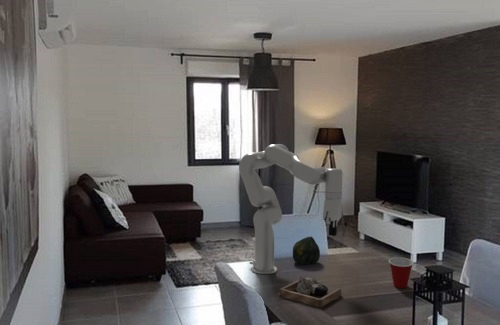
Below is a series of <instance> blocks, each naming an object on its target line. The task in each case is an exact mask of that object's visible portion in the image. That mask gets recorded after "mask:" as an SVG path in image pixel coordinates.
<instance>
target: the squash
mask: <svg viewBox="0 0 500 325" xmlns="http://www.w3.org/2000/svg"><path fill="white" fill-rule="evenodd" d="M320 251H321V250H320V247H319V245H318V244H317V242H316V240H315V239H314V237H313V236H307V237H304V238H302V239H300V240H298V241H297V242H295V243H294V245H293V247H292V259H293V261H294V262H295V264H300V265H305V264H315V263H316V264H317V263H318V262H319V260H320V257H321V252H320Z"/></svg>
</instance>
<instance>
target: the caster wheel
mask: <svg viewBox="0 0 500 325" xmlns="http://www.w3.org/2000/svg"><path fill="white" fill-rule="evenodd" d="M298 280H299V283H298V286H297V289H296V291H297V293H300V294H304V295H308V296H311V295H310V294H311V293H312V294H313V295H314V294H316V295H319V296H326V295H327V294H328V290H329V289H328V287H327V286H326V285H324V284H322V283H320V282H318V280H317V279H315V278H314V277H303V276H300V277H299V279H298Z"/></svg>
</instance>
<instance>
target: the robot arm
mask: <svg viewBox="0 0 500 325" xmlns="http://www.w3.org/2000/svg"><path fill="white" fill-rule="evenodd" d="M273 165H276V166H279V167H280V168H283V169H284V170H287V171H289V173H290V174H291V175H292V176H294V177H295V178H296V179H298V180H300V181H302V182H304V183H306V184H309V185H311V186H313V185H314V186H315V185H318V184H324V183H325V187H324V188H325V192H324V195H325V196H324V204H323V210H322V220H323V221H326V222H325V223H326V225H327V226H328V236H332V237H335V236H337V232H338V231H337V230H338V229H337V228H338V223H339V222H340V220H341V219H342V217H343V203H342V202H343V201H342V199H343V170H342V169H341V168H336V167H335V168H329V167H325V166H318V167H317V166H316V167H311V166H309V165H307V164H305V163H303V162H302V161H301V160H299V155H297V154H296V153H294V152H291V151H289V148H288V147H287V146H286V145H285V144H282V143H278V144H277V143H275V144H269V145H268V146H266V147H265V149H264V150H263V151H253V152H248V153H246V154H245V155H243V156H242V158H241V159H240V161H239V164H238V169H239V170H238V171H239V174H240V177H241V179H242V182H243V184H244V187H245V190H246V193H247V197H248V200H249V202H250V204H251V205H252V206H253V207H256V208H257V207H262V208H260V209H258V210H257V211H256V212H254V215H253V218H252V220H253V228H254V257H255V258H254V259H253V258H252V259H250V261H249V264H250V265H253V266H252V268H251V271H252V272H253V273H255V274H259V275H270V274H274V273H277V272H278V267H277V266H275V232H274V229H273V226H274V225H276V224H278V223H280V222H281V221H282V218H283V211H282V208H281V206H280V203H279V200H278V197H277V195H276V192H275V190H274V189H273V188H272V187H271V186H268V185H263V183H262V180H261V178H260V176H259V174H258V173H257V171H256V170H259V169H265V168H268V167H271V166H273Z"/></svg>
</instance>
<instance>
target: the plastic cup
mask: <svg viewBox="0 0 500 325" xmlns="http://www.w3.org/2000/svg"><path fill="white" fill-rule="evenodd" d="M414 263H415V262H414V261H413V260H412V259H410V258H406V257H402V256H401V257H396V256H395V257H392V258H389V259H388V264H389V265H390V269H391V270H390V271H391V278H392V283H393V287H394V288H396V289H397V288H398V289H406V288H408V284H409V281H410V275H411V270H412V267H413V265H414Z"/></svg>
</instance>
